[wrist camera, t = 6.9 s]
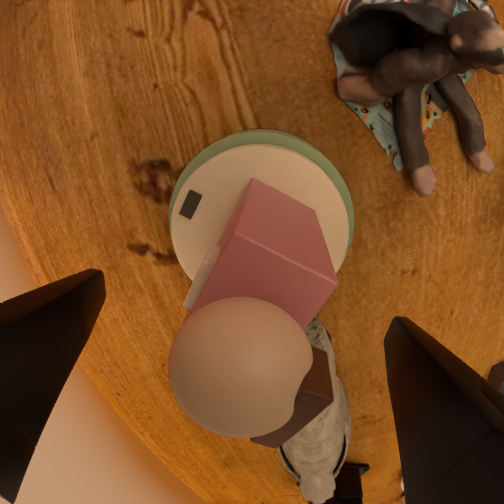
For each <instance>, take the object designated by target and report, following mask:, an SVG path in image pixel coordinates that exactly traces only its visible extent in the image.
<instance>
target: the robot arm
mask: <svg viewBox="0 0 504 504" xmlns="http://www.w3.org/2000/svg"><path fill="white" fill-rule="evenodd" d="M105 298H106V289H105V280H104V274H103V272H102V271H101V270H97V269H92V268H90V269H87V270H85V271H82V272H79V273H77V274H74V275H71V276H69V277H66V278H63V279H61V280H58V281H55V282H53V283H50V284H47V285H45V286H42V287H40V288H37V289H34V290H32V291H29V292H27V293H24V294H22V295H19V296H17V297H14V298H12V299H9V300H6V301H4V302H3V303H0V497H2V498H3V499H5V500H6V501H8V502H10V503H11V504H14V502H15V500H16V497H17V494H18V492H19V489H20V486H21V483H22V481H23V478H24V475H25V473H26V470H27V468H28V465H29V463H30V460H31V458H32V455H33V453H34V450H35V447H36V445H37V443H38V441H39V438H40V436H41V433H42V431H43V429H44V427H45V424H46V422H47V420H48V418H49V416H50V413H51V412H52V409H53V407H54V405H55V403H56V401H57V399H58V397H59V395H60V393H61V391H62V389H63V386H64V384H65V382H66V381H67V379H68V377H69V375H70V373H71V371H72V369H73V367H74V365H75V363H76V361H77V359H78V357H79V356H80V354H81V352H82V350H83V348H84V346H85V344H86V342H87V341H88V339H89V336H90V334H91V332H92V330H93V327H94V325H95V322H96V320H97V318H98V315H99V313H100V311H101V308H102V306H103V304H104V301H105ZM384 350H385V360H386V370H387V381H388V387H389V393H390V398H391V404H392V409H393V415H394V421H395V427H396V433H397V439H398V446H399V453H400V460H401V468H402V477H403V485H404V495H405V503H406V504H504V394H503V393H501V392H500V391H499V390H498V389H496V388H495V387H494V386H493V385H491V384H490V383H489V382H488V381H487V380H485V379H484V378H483V377H480V375H479V374H478V373H477V372H475V371H474V370H473V369H472V368H471V367H469V366H468V365H467V364H466V363H464V362H463V361H462V360H461V359H459V358H458V357H457V356H456V355H454V354H453V353H452V352H451V351H449V350H448V349H447V348H446V347H444V346H443V345H442V344H441V343H439V342H438V341H437V340H436V339H434V338H433V337H432V336H430V335H429V334H428V333H427V332H425V331H424V330H423V329H422V328H420V327H419V326H418V325H416V324H415V323H414V322H412V321H411V320H410V319H409V318H407V317H400V316H396V317H394V318H393V320H392V322H391V324H390V327H389V329H388V331H387V333H386V335H385V338H384ZM338 466H339V463H338V465H337V466H336V468H335V469H334V471H333V472H332V473H333V475H334V473H335V471H336V469H337V467H338ZM369 469H370V468H369V465H359V464H343V465H342V467H341V469H340V471H339V474H338V475H337V477H335V478H334V480H335V486H336V488H335V490H334V491H333V497H332V498H330V499H327V500H326V501H325V503H322V504H363V502H362V497H363V493H362V485H361V477H360V476H361V475H363V474H364V473H365V472H367V471H368V470H369ZM297 486H300V482H298V481H297ZM308 504H313V502H312V501H308Z"/></svg>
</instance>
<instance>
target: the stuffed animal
mask: <svg viewBox="0 0 504 504" xmlns="http://www.w3.org/2000/svg"><path fill="white" fill-rule="evenodd" d="M470 1H471V2H472V3H473V4H474V5H475V6H476V7H477V8H478V10H475V11H472V9H471V8H470V6H469V2H468V0H342V4H341V5H340V9H339V11H338V12H337V14H336V16H335V18H334V21H333V23H332V26H331V27H330V30H329V32H328V36H329V41H330V43H331V45H332V48H333V52H334V62H335V63H336V66H337V74H336V77H337V92H338V96H339V97H340V98H341V99H343V100H344V101H345V103H346V104H347V105H348V106H349V107H350V108H351V109H352V110H354V112H355V113H356V114H358V115H359V117H360V119H361V120H362V121H363V123H365V124H366V126H367V128H368V129H369V128H370V127H369V125H370V124H372V127H373V128H374V129H373V130H372V132H373V133H374V136H375V138H376V140H377V141H378V143H380V145H381V147H383V148H385V150H386V154H387V157H389V155H390V152H391V151H396V152H397V155H396V156H394V160H393V165H394V166H395V168H396V169H397V171H401V170H402V169H403V166H405V168H406V169H407V170H408V171H409V172H410V174H411V177H412V182H413V187H414V189H415V191H416V193H417V194H418V195H419V196H420V197H427V196H430V195H431V194H432V193H433V192H434V187H435V184H436V176H435V173H434V172H433V170H432V169H431V168H430V165H429V154H428V151H427V149H426V147H425V143H424V140H425V139H426V135H427V134H428V133H429V132H430V131H431V126H432V123H433V119H435V118H436V119H440V118H441V117H442V115H443V114H444V111H446V110H447V109H448V108H449V106H452V108H453V109H454V111H455V114H456V116H457V118H458V122H459V131H460V135H461V141H462V144H463V146H464V148H465V150H466V152H467V154H468V157H469V158H470V160H471V161H472V163H473V164H474V166H475V167H476V168H477V169H478V170H480V171H481V172H483V173H485V174H491V173H492V172H493V171H494V163H493V161H492V160H491V158H490V157H489V155H488V153H487V152H486V151H485V145H486V142H485V138H484V132H483V123H482V120H481V114H480V112H479V111H478V109H477V108H476V106H475V104H474V101H473V99H472V98H471V96H470V95H469V93H468V91H467V89H466V87H465V83H466V81H468V78H471V74H473V73H474V72H475V70H478V69H480V68H484V69H486V70H487V71H489V72H491V73H492V74H503V73H504V31H503V30H502V29H501V28H500V27H499V25H498V24H499V23H498V21H497V20H496V19H495V17H496V16H495V13H494V11H493V9H492V7H491V6H488V5H487V4H486V2H488V1H487V0H470ZM485 1H486V2H485ZM428 94H430V95H431V96H430V101H429V103H428V104H427V103H426V96H427V95H428ZM387 101H389V102H390V104H389V106H387V107H385V106H384V104H385V103H386V102H387ZM355 108H357V111H355ZM361 108H366V109H367V110H368V112H367V113H363V112H362V111H361ZM426 111H428V112H429V118H428V119H427V118H426V116H425V115H426ZM433 112H436V116H434V115H433ZM388 145H391V148H390V149H388Z"/></svg>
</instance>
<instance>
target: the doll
mask: <svg viewBox="0 0 504 504" xmlns="http://www.w3.org/2000/svg"><path fill="white" fill-rule="evenodd" d="M171 236H172V242H173V247H174V250H175V253H176V256H177V259H178V261H179V263H180V265H181V267H182V268H183V270H184V271H185V273H186V274H187V276H188V277H189V278H190V279H191V281H192V282H193V283H192V285H191V287H190V289H189V291H188V294H187V296H186V298H185V300H184V303H183V307H184V308H186V309H188V311H187V314H186V316H185V319H184V321H183V324H182V326H181V327H180V329H179V331H178V332H177V334H176V336H175V338H174V340H173V343H172V346H171V349H170V353H169V359H168V375H169V381H170V385H171V389H172V392H173V394H174V396H175V398H176V400H177V402H178V404H179V405H180V407H181V408H182V409H183V411H184V412H185V413H186V414H187V415H188V416H189V417H190V418H191V419H192V420H193V421H194V422H195V423H197V424H198V425H199V426H201V427H203V428H204V429H206V430H208V431H210V432H213V433H215V434H218V435H221V436H225V437H230V438H250V441H251V442H253V443H257V444H260V445H264V446H267V447H271V448H278V447H280V446H281V445H282V444H284V443H285V442H286V441H287V440H289V439H290V438H291V437H293V436H294V435H295V434H296V433H298V432H299V431H300V430H301V429H303V428H304V427H305V426H306V425H307V424H309V423H310V422H311V421H312V420H313V419H315V418H316V417H317V416H318V415H319V414H320V413H322V412H323V411H324V410H325V409H326V408H327V407H328V406H330V405H331V404H332V403H333V401H334V394H333V387H332V380H331V373H330V366H329V360H328V353H327V352H326V351H325V350H322V349H320V348H317V347H315V346H312V345H310V343H309V341H308V338H307V336H306V334H305V333H304V329H305V328H306V327H307V326H308V324H309V323H310V322H311V320H312V319H313V318H314V317H315V315H316V314H317V313H318V311H319V310H320V309H321V308H322V306H323V305H324V304H325V302H326V301H327V300H328V298H329V297H330V296H331V294H332V293H333V292H334V290H335V289H336V288H337V286H338V280H337V277H336V273H337V271H338V270H339V268H340V266H341V264H342V262H343V259H344V257H345V254H346V250H347V247H348V240H349V221H348V214H347V211H346V207H345V204H344V201H343V199H342V197H341V195H340V193H339V191H338V189H337V188H336V186H335V185H334V183H333V182H332V180H331V179H330V178H329V176H328V175H327V174H326V173H325V172H324V171H323V170H322V169H321V168H320V167H319V166H318V165H317V164H316V163H315V162H313V161H312V160H310V159H309V158H307V157H306V156H304V155H302V154H300V153H298V152H296V151H294V150H292V149H288V148H285V147H282V146H277V145H271V144H247V145H241V146H237V147H233V148H230V149H228V150H225V151H223V152H220V153H219V154H217V155H215V156H213V157H212V158H210V159H209V160H208V161H206V162H205V163H204V164H202V165H201V166H200V167H199V168H197V170H196V171H195V172H194V173H193V174H192V175H191V176H190V177H189V178H188V179H187V181H186V182H185V184H184V185H183V186H182V188H181V190H180V192H179V194H178V196H177V199H176V201H175V204H174V207H173V212H172V217H171Z"/></svg>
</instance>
